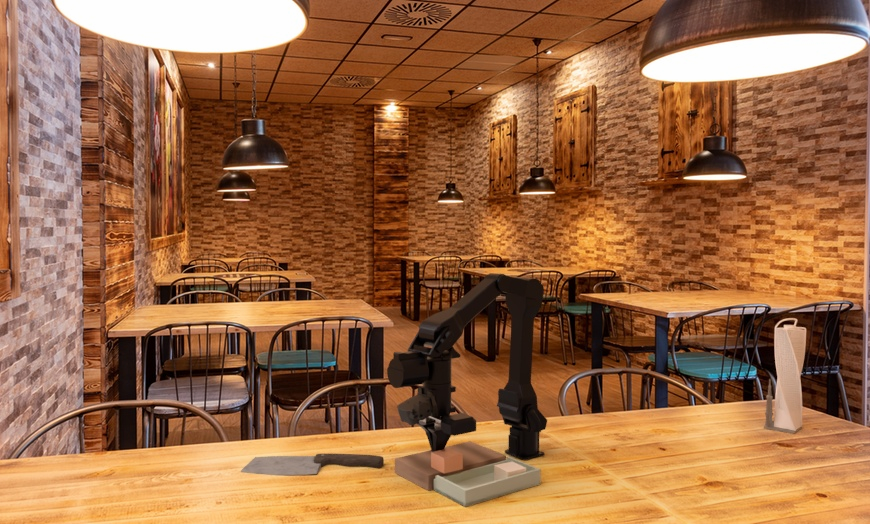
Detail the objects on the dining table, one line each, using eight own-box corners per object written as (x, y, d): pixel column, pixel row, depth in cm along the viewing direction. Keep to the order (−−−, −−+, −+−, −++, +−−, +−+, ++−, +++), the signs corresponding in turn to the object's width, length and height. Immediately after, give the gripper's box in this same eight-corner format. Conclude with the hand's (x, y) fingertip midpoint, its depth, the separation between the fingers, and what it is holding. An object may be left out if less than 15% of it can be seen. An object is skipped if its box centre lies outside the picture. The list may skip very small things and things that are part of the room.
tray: (507, 470, 139) (507, 455, 139) (540, 484, 132) (540, 469, 131) (433, 490, 128) (433, 474, 128) (465, 507, 120) (465, 490, 120)
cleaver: (384, 461, 146) (384, 451, 146) (380, 477, 136) (380, 467, 136) (250, 462, 146) (250, 452, 146) (236, 478, 136) (236, 468, 136)
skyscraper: (774, 421, 177) (776, 316, 175) (808, 427, 171) (811, 319, 170) (763, 428, 170) (766, 319, 169) (798, 434, 165) (801, 322, 164)
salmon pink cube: (449, 462, 135) (449, 447, 135) (462, 469, 131) (462, 454, 131) (430, 466, 133) (430, 452, 132) (444, 473, 129) (444, 458, 129)
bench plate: (470, 454, 149) (470, 441, 149) (506, 469, 140) (506, 455, 140) (394, 472, 138) (394, 458, 138) (428, 490, 128) (428, 475, 128)
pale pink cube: (526, 468, 130) (526, 483, 130) (512, 461, 134) (512, 476, 134) (507, 472, 128) (507, 487, 128) (494, 465, 132) (494, 480, 132)
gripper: (379, 377, 137) (378, 452, 138) (431, 396, 122) (430, 480, 123) (423, 371, 144) (423, 443, 144) (478, 388, 128) (477, 468, 129)
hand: (436, 457), depth 135 cm, fingers closed
